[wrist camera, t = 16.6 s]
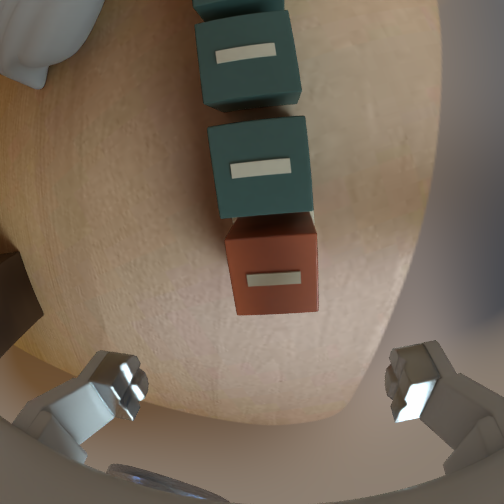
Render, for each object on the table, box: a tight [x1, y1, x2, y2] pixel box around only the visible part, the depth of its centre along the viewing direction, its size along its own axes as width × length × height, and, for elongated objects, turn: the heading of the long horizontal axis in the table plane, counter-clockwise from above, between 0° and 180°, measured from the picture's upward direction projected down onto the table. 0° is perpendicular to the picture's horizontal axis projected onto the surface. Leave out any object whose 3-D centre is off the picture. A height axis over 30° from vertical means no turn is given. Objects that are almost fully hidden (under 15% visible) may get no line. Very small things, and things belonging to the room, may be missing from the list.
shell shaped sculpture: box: [0, 0, 105, 89], centre depth 8 cm, size 13×13×6 cm
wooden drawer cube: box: [224, 211, 319, 315], centre depth 14 cm, size 4×4×4 cm
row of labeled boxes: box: [192, 0, 314, 224], centre depth 12 cm, size 19×5×4 cm, turn 7°
